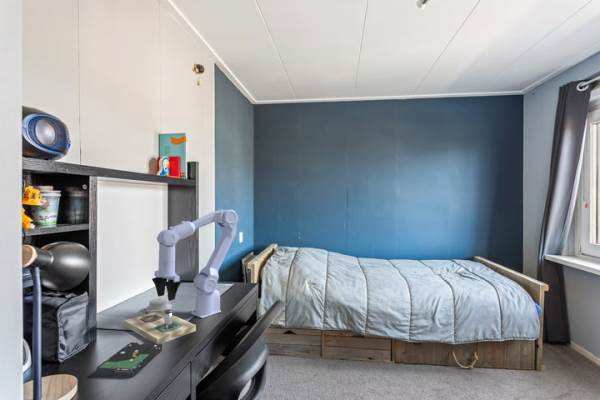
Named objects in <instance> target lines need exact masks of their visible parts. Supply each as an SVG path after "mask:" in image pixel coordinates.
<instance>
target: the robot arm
mask: <svg viewBox="0 0 600 400" xmlns="http://www.w3.org/2000/svg"><path fill="white" fill-rule="evenodd" d="M238 221H239V217H238V214H237V213H236V211H235V210H234V209H222V208H220V209H217V210H214V211H212V212H209V213H208V214H205V215H204V216H202V217H200V218H198V219H195V220H194V221H189V220H186V221H185V220H182V221H181V222H180V223H179V224H177V225H174V226H169V227H168V228H169V229H163V230H161V231H159V233H158V235H157V236H156V241H157V243H158V270H154V277H152V278H151V280H152V282H153V284H154V286H155V290H156V293H157V297H163V296H164V297H165V293H166V290H167V298H168V300H169V302H170V301H174V300H175V299H176V295H177V293H178V292H177V291H178V290H179V287H180V285H182V280H181V279H180V277H181V276H180V275H178V274H177V273H176V244H177V243H178V242H179V241H181V240H183V239H185V238H189V236H192V235H194V233H195V231H196V230H198V229H201V228H202V227H205V226H207V225H210V224H212V223H217V224H218V226H219V227H220V230H221V232H222V233H221V236H220V237H219V240H218V242H217V243H216V245H215V247H214V250H213V251H212V253H211V254H210V258H209V259H208V261H207V263H206V265H205V266H204V267H203V268H202V269H201V270H200V271H199V273H198V274H197V275H195V277H193V286H194V287H195V302H194V303H195V305H194V306H195V308H194V310H195V311H194V310H193V311H192V312H190V314H191V315H193V316H196V317H198V318H201V319H205V318H207V317H210V316H213V315H216V314H219V313H221V312H222V310H221V295H220V291H219V290H217V286H218V280H219V278H220V276H219V270H220V268H221V266H222V264H223V262H224V259H225V257H226V255H227V253H228V251H229V250H230V247H231V245H232V244H233V241H234V240H235V239H234V238H236V235H237V226H238V225H237V224H238Z"/></svg>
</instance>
